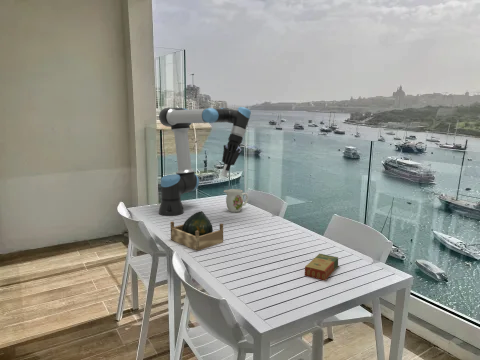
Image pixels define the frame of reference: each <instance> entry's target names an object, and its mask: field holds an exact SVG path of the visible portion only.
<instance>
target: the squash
mask: <svg viewBox="0 0 480 360" xmlns="http://www.w3.org/2000/svg"><path fill="white" fill-rule="evenodd" d="M183 224H184V225H183ZM183 224H182V225H183V228H182V231H184V232H186V233H189V234H192V235H194V236H195V231H197V230H198V231H199V236H202V235H205V234H208V233H212V232H214V229H213V224H212V222H211V220H210V219H209V217H208V216H207V215H206V214H205V212H203V210H202V211H197V212H194V214H192V215H191V216H189V217H188V218H187V219H185V221H184V223H183Z"/></svg>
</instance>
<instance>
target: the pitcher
mask: <svg viewBox="0 0 480 360" xmlns="http://www.w3.org/2000/svg"><path fill="white" fill-rule="evenodd" d="M223 192H224V193H225V194H226V197H225V203H226V204H225V205H226V207H227V209H228V211H229V212H231V213H239V212H241V210H242V209H243V207H244V206H245V205H246V204H247V203H248V201H249V195H248V193H247V192H244V191H243V190H242V189H237V188H232V189H225V190H223ZM244 196H245V198H246V199H245V201H244Z"/></svg>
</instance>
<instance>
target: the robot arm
mask: <svg viewBox="0 0 480 360" xmlns="http://www.w3.org/2000/svg"><path fill="white" fill-rule="evenodd" d="M251 112H252V111H251V110H250V109H249V108H247V107H244V106H243V107H242V106H238V108H237V110H235V109H230V108H227V107H220V108H213V107H208V108H199V109H198V108H197V109H195V108H194V109H193V108H192V109H187V108H185V107H184V108H183V107H164V108H163V109H162V110H160V112H159V114H158V119H159V122H160V124H162V126H165V127H169V128H170V130H171V131H172V132H173V135H174V144H175V154H176V162H177V171H176V172H175V173H171V174H166V175H164V176H162V177H161V179H160V191H161V193H160V194H161V196H160V197H161V201H160V206H159V209H158V213H159V215H161V216H166V217H168V216H169V217H173V216H179V215H182V214H183V213H184V212H185V211H184V210H185V209H184V206H183V202H182V201H181V198H182V197H181V195H183V194H187V193H191V192H194V191H196V190H197V188H198V187H199V184H200V180H199V176H197V174H196V173H195V170H193V168H192V161H191V160H192V159H191V151H190V143H189V141H190V140H189V130H190V126H191V125H192V124H203V123H204V124H205V123H207V124H213V123H230V124H233V125H232V127H231V130H230V134H229V137H228V143H227V144H224V145H223V153H222V159H221V162H222V163H223V166H222V171H221V176H224V177H227V176H228V173H229V171H230V169H231V166H235V164H236V163H237V162H236V161H237V160H238V158H239V156H240V154H241V153H242V152H243V149H241V144H242V142H243V140H244V137H245V133H246V130H247V127H248V124H249V120H250V118H251V114H252V113H251Z"/></svg>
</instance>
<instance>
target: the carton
mask: <svg viewBox="0 0 480 360" xmlns="http://www.w3.org/2000/svg"><path fill="white" fill-rule="evenodd" d="M338 267H339V256H334V255H328V254H323V253H318V254H317V255H316V256H315V257H314V258H313V259H312V260H311V261H309V262H308V263H307V264H306V265H305V267H304V276H306V277H309V278H312V279H315V280H320V281H324V282H325V281H326V280H327V279H328V278H329V277H330V275H331V274H333V273H334V271H335V270H336V269H337V268H338Z"/></svg>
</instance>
